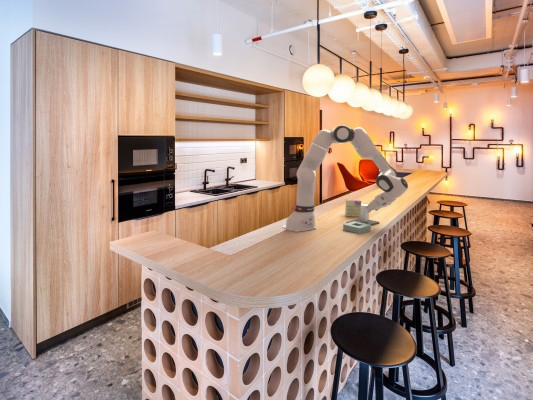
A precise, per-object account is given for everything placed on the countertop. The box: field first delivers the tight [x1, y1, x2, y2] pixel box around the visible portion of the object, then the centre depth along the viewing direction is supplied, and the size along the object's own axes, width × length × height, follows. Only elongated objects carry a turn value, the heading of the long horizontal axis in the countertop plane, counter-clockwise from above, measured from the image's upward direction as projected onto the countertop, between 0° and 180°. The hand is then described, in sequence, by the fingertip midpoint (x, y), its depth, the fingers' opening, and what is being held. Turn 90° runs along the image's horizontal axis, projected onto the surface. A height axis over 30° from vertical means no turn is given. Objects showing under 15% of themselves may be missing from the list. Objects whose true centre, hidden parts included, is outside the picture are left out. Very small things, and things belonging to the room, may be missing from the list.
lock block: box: [342, 221, 372, 235], centre depth 206 cm, size 12×12×4 cm
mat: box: [345, 218, 380, 227], centre depth 223 cm, size 18×14×1 cm
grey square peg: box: [359, 203, 370, 223], centre depth 221 cm, size 4×4×12 cm
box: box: [344, 198, 362, 218], centre depth 244 cm, size 10×6×12 cm, turn 84°
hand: (371, 210), depth 217 cm, fingers open, 8 cm apart
